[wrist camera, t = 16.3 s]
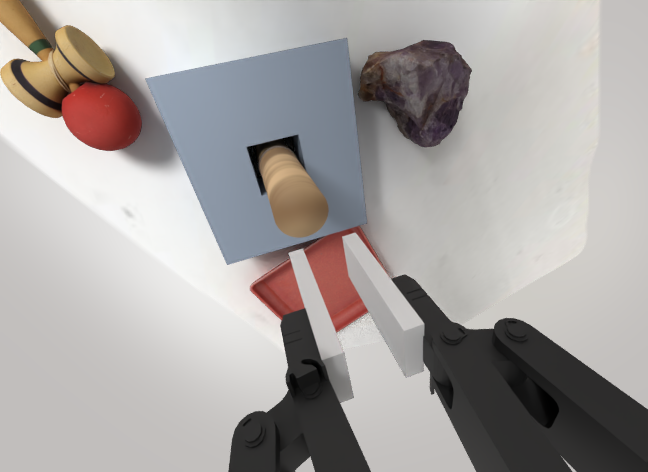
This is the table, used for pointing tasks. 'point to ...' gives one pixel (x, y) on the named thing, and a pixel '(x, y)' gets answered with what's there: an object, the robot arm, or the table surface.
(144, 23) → the table surface
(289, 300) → the plant saucer
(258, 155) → the peg
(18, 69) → the kendama
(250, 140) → the board
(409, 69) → the rock
